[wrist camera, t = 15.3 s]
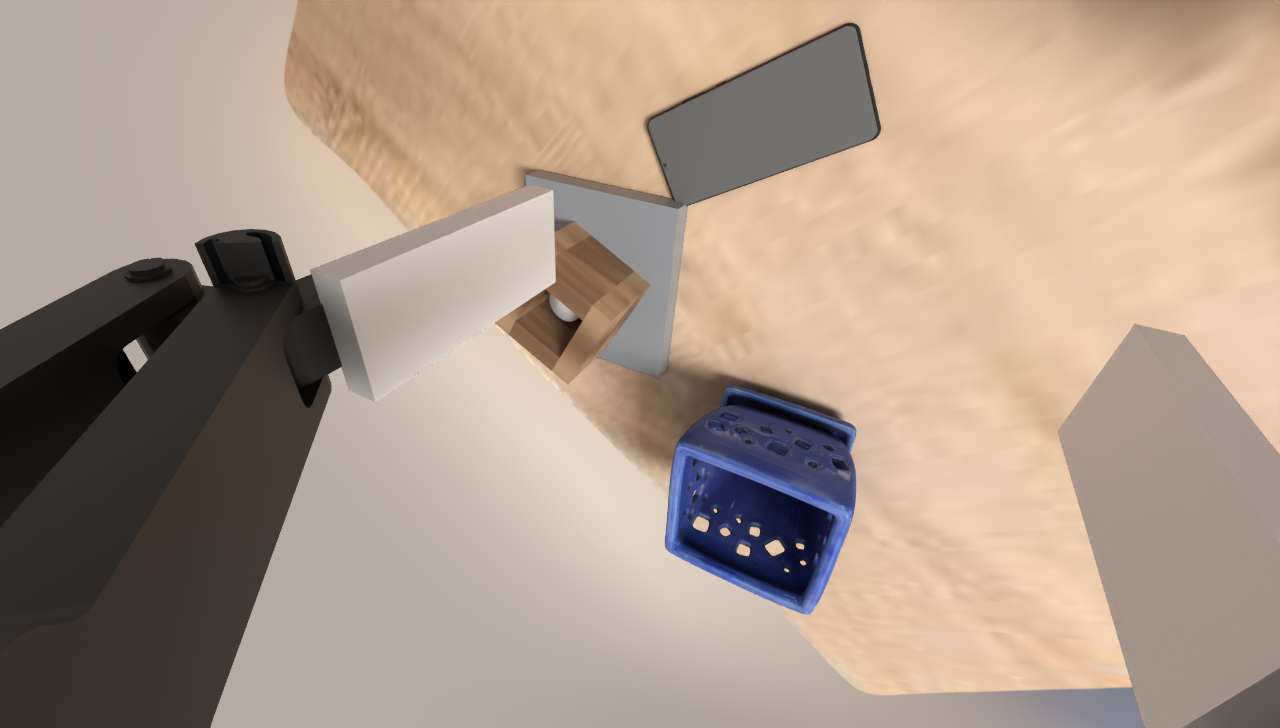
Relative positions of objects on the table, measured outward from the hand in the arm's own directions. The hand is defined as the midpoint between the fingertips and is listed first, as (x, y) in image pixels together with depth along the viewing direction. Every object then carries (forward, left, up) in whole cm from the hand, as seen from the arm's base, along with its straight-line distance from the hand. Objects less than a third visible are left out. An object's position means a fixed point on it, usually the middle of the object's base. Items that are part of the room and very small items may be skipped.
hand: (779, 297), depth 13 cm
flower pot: (+27, 0, -27) cm, 38 cm away
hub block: (+17, -20, -25) cm, 36 cm away
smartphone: (+1, -8, -27) cm, 28 cm away
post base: (+15, -19, -27) cm, 36 cm away
